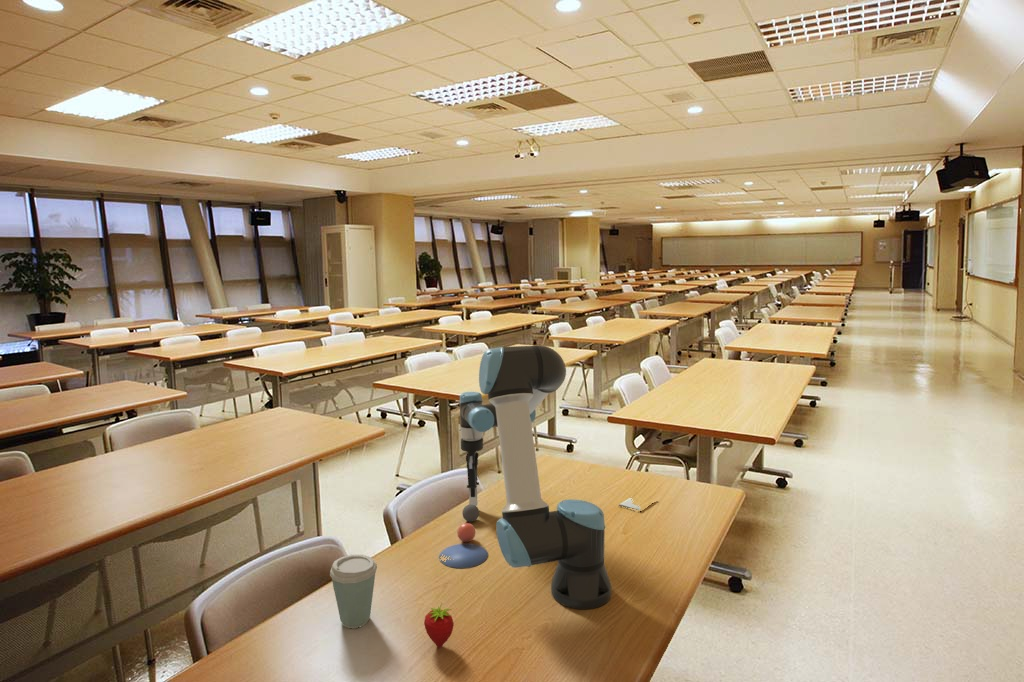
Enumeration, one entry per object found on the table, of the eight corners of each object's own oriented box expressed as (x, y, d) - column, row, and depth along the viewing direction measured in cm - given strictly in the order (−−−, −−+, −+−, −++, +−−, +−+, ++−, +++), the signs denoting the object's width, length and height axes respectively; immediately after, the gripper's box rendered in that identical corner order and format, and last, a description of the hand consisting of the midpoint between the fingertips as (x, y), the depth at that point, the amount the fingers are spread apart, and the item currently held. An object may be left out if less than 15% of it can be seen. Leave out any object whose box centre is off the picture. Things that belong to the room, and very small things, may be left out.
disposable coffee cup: (361, 602, 144) (358, 546, 142) (389, 619, 137) (386, 559, 136) (323, 623, 136) (320, 563, 134) (351, 641, 129) (347, 578, 127)
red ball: (474, 545, 173) (474, 527, 172) (456, 545, 173) (456, 527, 172) (476, 536, 179) (476, 519, 178) (458, 536, 179) (458, 519, 178)
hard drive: (639, 510, 194) (657, 498, 203) (618, 503, 199) (636, 492, 208) (639, 515, 194) (657, 503, 203) (618, 508, 199) (636, 497, 209)
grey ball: (478, 524, 187) (478, 508, 186) (461, 524, 187) (461, 508, 186) (480, 517, 192) (479, 501, 192) (463, 517, 193) (463, 501, 192)
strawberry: (441, 632, 132) (440, 591, 131) (460, 649, 126) (459, 606, 125) (419, 643, 128) (417, 601, 127) (437, 660, 123) (435, 616, 121)
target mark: (486, 568, 160) (486, 567, 160) (435, 568, 160) (435, 567, 160) (489, 544, 174) (489, 543, 174) (442, 544, 174) (442, 543, 174)
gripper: (462, 432, 202) (464, 497, 205) (458, 443, 189) (460, 512, 192) (484, 432, 202) (485, 497, 205) (481, 443, 189) (482, 512, 192)
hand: (473, 504), depth 198 cm, fingers closed
